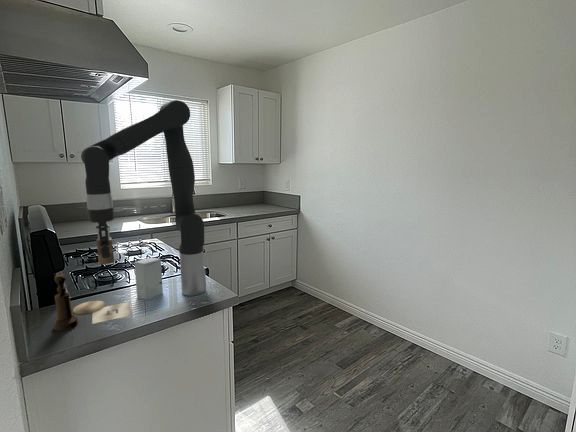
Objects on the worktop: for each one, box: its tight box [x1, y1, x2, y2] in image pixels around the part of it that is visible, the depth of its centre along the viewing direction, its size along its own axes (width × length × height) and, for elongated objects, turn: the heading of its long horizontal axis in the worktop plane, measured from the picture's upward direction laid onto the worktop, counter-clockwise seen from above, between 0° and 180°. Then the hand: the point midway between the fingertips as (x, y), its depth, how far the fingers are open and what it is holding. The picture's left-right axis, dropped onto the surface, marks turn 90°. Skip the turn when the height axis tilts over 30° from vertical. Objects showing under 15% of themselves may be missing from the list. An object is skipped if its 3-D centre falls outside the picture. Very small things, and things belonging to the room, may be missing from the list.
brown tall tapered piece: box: [53, 273, 79, 332], centre depth 104 cm, size 7×6×18 cm
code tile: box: [91, 301, 133, 325], centre depth 115 cm, size 12×12×1 cm
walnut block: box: [96, 236, 115, 265], centre depth 111 cm, size 4×4×8 cm
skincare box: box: [133, 257, 164, 301], centre depth 129 cm, size 8×6×15 cm
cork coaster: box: [72, 300, 106, 315], centre depth 119 cm, size 10×10×1 cm
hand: (106, 255), depth 111 cm, fingers closed on walnut block, 4 cm apart
